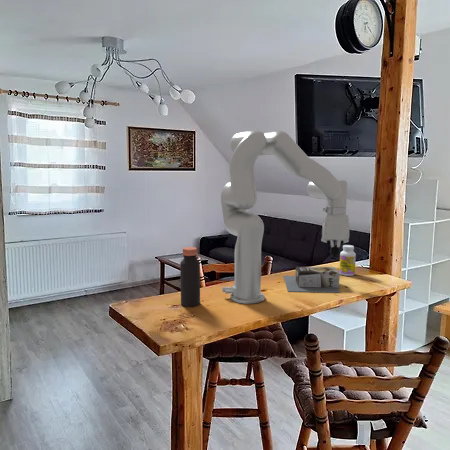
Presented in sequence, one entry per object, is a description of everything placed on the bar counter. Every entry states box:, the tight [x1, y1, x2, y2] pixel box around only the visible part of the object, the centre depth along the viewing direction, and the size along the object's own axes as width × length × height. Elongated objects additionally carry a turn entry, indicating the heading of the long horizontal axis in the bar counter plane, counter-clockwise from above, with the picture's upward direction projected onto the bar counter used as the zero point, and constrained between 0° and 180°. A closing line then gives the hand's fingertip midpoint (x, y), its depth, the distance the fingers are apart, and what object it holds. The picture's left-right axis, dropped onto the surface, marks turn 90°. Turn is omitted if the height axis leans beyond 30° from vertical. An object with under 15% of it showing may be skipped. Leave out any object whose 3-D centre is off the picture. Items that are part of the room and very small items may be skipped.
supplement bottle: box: [338, 244, 357, 277], centre depth 187 cm, size 7×7×13 cm
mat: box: [282, 275, 341, 294], centre depth 173 cm, size 20×22×1 cm
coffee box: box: [295, 266, 341, 289], centre depth 171 cm, size 9×6×16 cm
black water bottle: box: [179, 246, 201, 308], centre depth 147 cm, size 7×7×20 cm
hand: (334, 256), depth 170 cm, fingers closed
